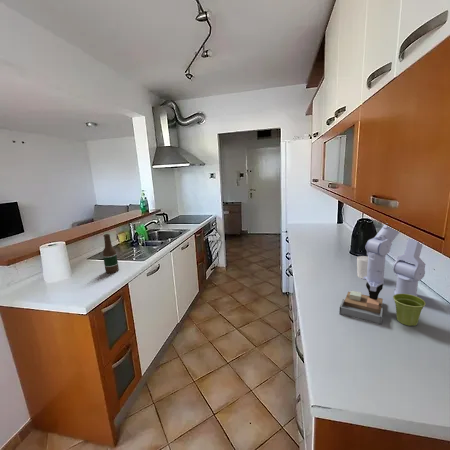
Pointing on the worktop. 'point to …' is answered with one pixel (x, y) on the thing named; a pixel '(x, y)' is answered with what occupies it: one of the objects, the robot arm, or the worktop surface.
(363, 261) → the white cup
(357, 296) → the tile sage
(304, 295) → the worktop surface
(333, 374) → the worktop surface
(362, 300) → the board
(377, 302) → the tile terracotta
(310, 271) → the worktop surface
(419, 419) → the worktop surface
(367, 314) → the tray
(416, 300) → the plant pot
